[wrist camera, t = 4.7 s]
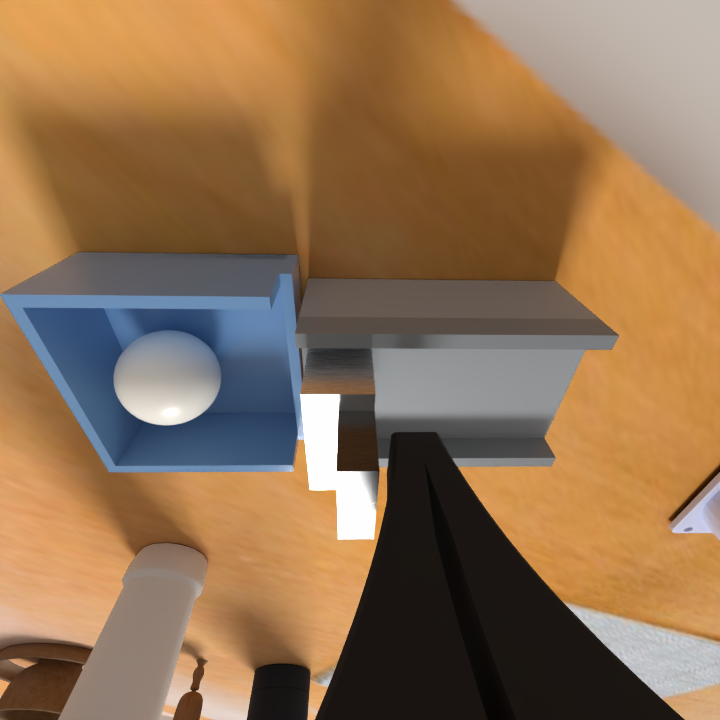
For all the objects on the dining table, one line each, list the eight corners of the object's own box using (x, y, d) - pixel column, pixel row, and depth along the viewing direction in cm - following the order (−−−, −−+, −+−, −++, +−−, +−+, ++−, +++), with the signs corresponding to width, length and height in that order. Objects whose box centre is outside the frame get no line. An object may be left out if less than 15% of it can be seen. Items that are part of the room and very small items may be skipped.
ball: (221, 312, 14) (191, 366, 11) (237, 383, 16) (216, 444, 13) (127, 313, 14) (72, 368, 11) (156, 384, 16) (115, 447, 13)
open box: (298, 254, 13) (283, 297, 10) (310, 411, 17) (303, 471, 15) (78, 252, 13) (0, 294, 10) (148, 411, 17) (109, 472, 14)
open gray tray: (555, 281, 14) (619, 335, 10) (513, 398, 17) (551, 466, 14) (308, 278, 13) (294, 333, 10) (316, 397, 17) (307, 467, 14)
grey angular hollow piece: (371, 345, 11) (380, 454, 8) (367, 435, 14) (373, 550, 10) (309, 344, 11) (289, 454, 8) (315, 435, 14) (303, 550, 10)
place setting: (7, 614, 32) (-54, 704, 27) (222, 651, 39) (204, 728, 34) (-4, 669, 40) (-52, 745, 36) (175, 691, 47) (155, 758, 42)
